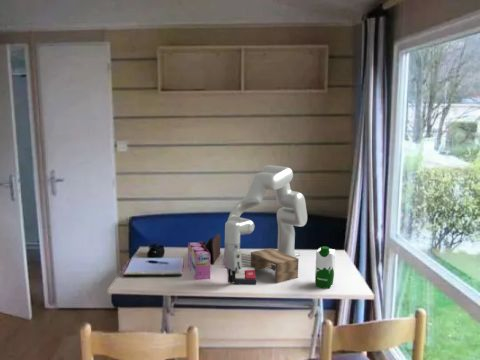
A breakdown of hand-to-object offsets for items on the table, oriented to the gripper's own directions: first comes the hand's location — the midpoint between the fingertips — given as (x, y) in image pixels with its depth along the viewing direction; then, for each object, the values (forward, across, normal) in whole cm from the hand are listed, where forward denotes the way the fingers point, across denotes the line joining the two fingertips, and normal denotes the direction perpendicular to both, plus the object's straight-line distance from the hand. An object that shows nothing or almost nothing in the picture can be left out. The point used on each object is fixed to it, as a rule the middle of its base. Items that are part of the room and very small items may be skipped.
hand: (231, 281), depth 229 cm
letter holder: (+2, +40, -12) cm, 42 cm away
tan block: (+1, 0, -27) cm, 27 cm away
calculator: (+2, +3, -10) cm, 11 cm away
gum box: (+2, +24, +4) cm, 25 cm away
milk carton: (+1, -26, -38) cm, 46 cm away
